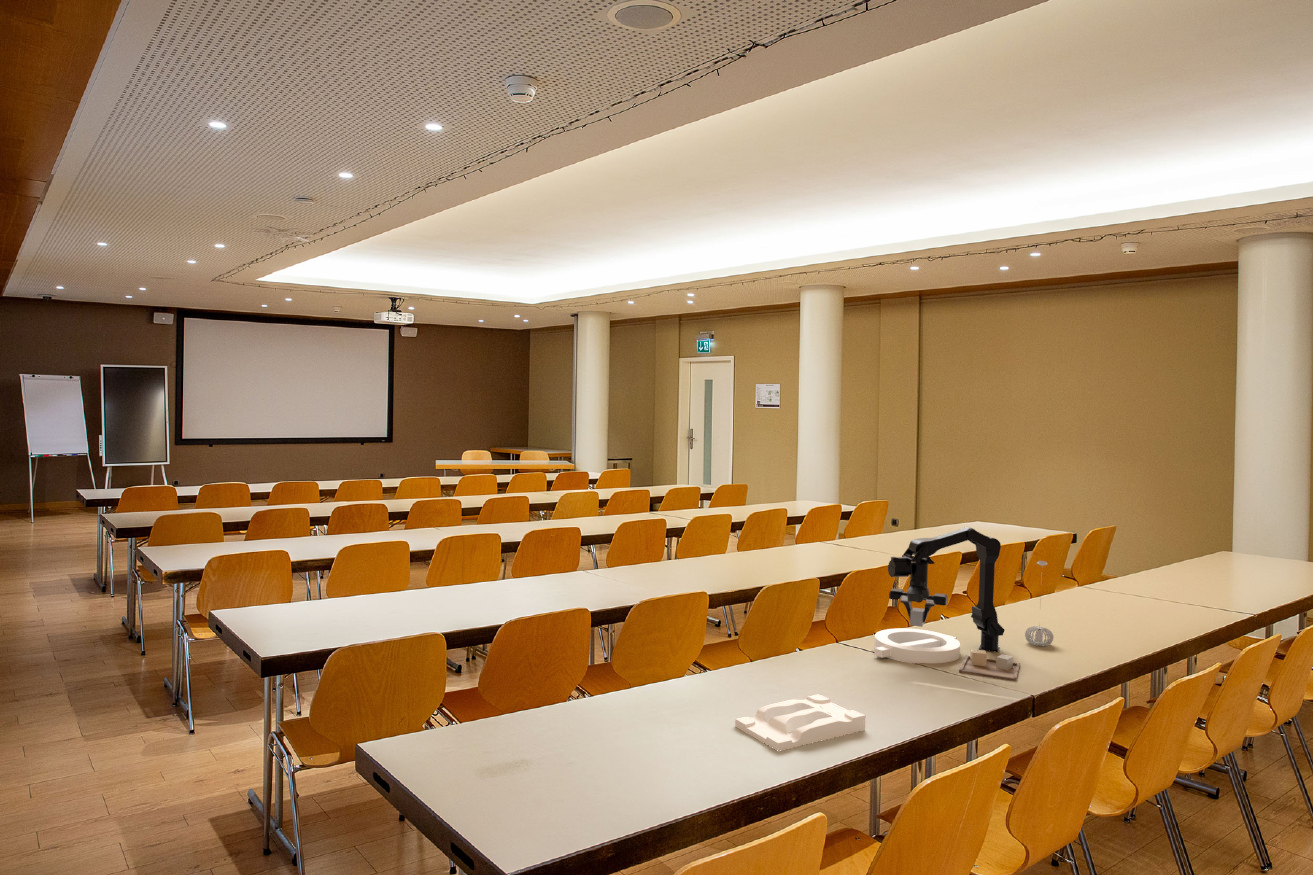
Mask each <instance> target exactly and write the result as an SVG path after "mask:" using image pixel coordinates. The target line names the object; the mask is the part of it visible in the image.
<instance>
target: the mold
mask: <svg viewBox="0 0 1313 875" xmlns="http://www.w3.org/2000/svg"><path fill="white" fill-rule="evenodd" d="M734 723H735V724H734V727H736V728H737V729H739V730H740V731H742V732H744V733H746V734H747V735H749V736H751V737H752V738H754V739H756V740H757V739H758V740H757V741H759V742H761V743H763V744H764V743H765V744H764V745H766V746H768V745H769V746H770V748H771V747H773V748H774V749H775V751H776V750H778V751H779V752H781V751H780V750H783V751H787V750H790V749H789V748H791V749H793V748H792V747H795V748H798V747H797V746H799V747H801V746H800V745H803V746H807V745H806V744H808V745H810V744H809V743H812V742H816V743H819V742H818V741H820V742H822V741H821V740H824V741H826V740H825V739H828V740H831V739H830V738H832V739H835V738H834V737H836V738H840V737H843V735H844V736H846V735H845V734H848V735H852V734H855V733H854V732H856V733H859V732H858V731H861V732H864V730H865V731H866V715H865V714H864V713H862V712H859V711H856V710H855V709H851V710H849V709H847V708H845V707H842V706H840V705H838V704H836V703H834V702H832V701H831V699H830V698H829V697H826V696H824V695H822V694H813V695H808V696H806V699H805V698H804V699H787V700H784V701H780V702H775V703H770V704H767V705H764V706H762V707H760V708H758V709H757V711H756V714H755V715H754V716H753V717H751V716H743V717H738V718H735V720H734ZM839 736H840V737H839ZM812 744H813V743H812ZM769 746H768V747H769ZM773 748H772V749H773ZM774 749H773V750H774ZM786 749H787V750H786ZM778 751H777V752H778Z"/></svg>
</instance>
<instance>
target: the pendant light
mask: <svg viewBox="0 0 1313 875" xmlns="http://www.w3.org/2000/svg"><path fill="white" fill-rule="evenodd" d="M1036 564H1037V565H1039V566H1041V567H1044V566H1047V565H1048V564H1049V563H1047V561H1044V560H1038V561H1037V562H1036ZM1042 575H1043V573H1041V581H1040V584H1042V579H1043V577H1042ZM1039 602H1040V603H1039V605H1040V606H1039V609H1041V605H1042V604H1041V602H1042V598H1040V601H1039ZM1034 633H1035V635H1034ZM1024 637H1025V639H1026V641H1027V642H1028V643H1029V644H1030V645H1033V646H1036V647H1047V646H1049V645H1051V644H1052V643H1053V641H1054V634H1053V632H1052V631H1051V630H1050V629H1049V628H1047V627H1043V626H1041V623H1039V626H1037V625H1034V626H1030V627H1028V628H1027V629H1025V632H1024ZM1043 639H1044V640H1043Z"/></svg>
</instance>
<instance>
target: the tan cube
mask: <svg viewBox="0 0 1313 875" xmlns="http://www.w3.org/2000/svg"><path fill="white" fill-rule="evenodd" d="M969 650H970V651H969V652H970V653H969V654H970V655H969V656H970V662H971V664H972V665H980V666H986V665H987V659H988V658H987V657H988V653H987V651H985V650H979V649H973V648H971V649H969Z"/></svg>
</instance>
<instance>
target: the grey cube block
mask: <svg viewBox="0 0 1313 875" xmlns="http://www.w3.org/2000/svg"><path fill="white" fill-rule="evenodd" d="M924 611H925V608H919V607H912V610H911V611H910V619H909V625H910V626H914V627H923V626H924V625H925V623H926V622H925V623H923V617H924Z"/></svg>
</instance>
